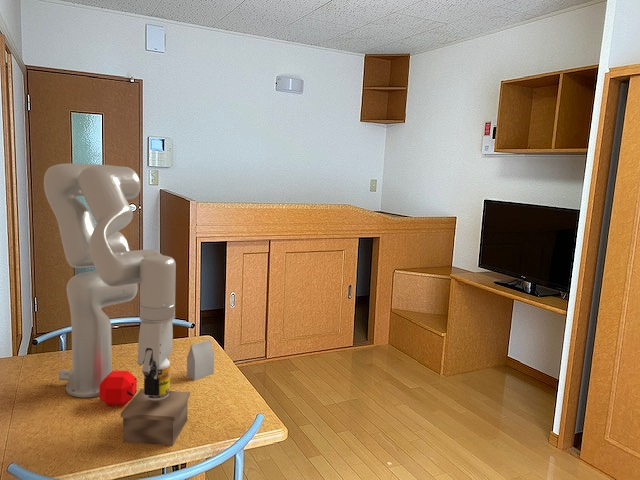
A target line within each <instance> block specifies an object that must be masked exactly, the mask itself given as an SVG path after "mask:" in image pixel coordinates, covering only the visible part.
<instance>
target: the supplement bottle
mask: <svg viewBox="0 0 640 480" xmlns="http://www.w3.org/2000/svg"><path fill="white" fill-rule="evenodd" d="M170 362H171V361H170V359H169V360H168V359H167V358H166V359H165V361H164V362H163V363H162V364H161V365H159V372H158V378H160V386H159V395H158V396H154V395H145V394H144V396H145V398H146V399H148V400H162V399H164V398H166V397H167V396H168V395H169V391H170V387H171V386H170V385H171V384H170V381H171V380H170V379H171V363H170ZM151 364H156V362H153V361H152V362H151ZM150 368H151V370H153V371H154V372H155V367H150Z"/></svg>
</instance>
